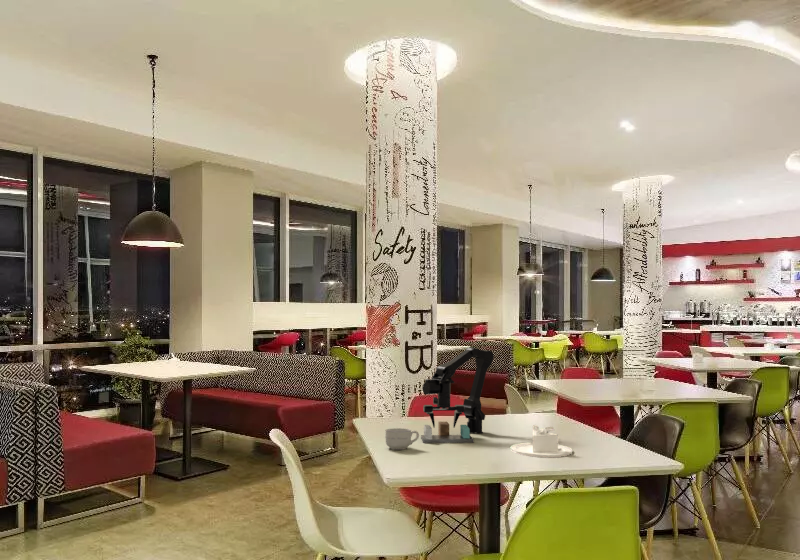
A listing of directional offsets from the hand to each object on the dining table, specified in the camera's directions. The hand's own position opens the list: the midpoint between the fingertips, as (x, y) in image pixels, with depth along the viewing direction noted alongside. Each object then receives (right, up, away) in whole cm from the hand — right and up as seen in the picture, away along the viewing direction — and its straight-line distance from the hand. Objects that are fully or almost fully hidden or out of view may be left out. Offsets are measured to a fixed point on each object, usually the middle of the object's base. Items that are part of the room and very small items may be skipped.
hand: (444, 427), depth 295 cm
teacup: (-19, -2, -29) cm, 35 cm away
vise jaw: (+9, -1, -11) cm, 14 cm away
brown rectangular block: (0, -4, 0) cm, 4 cm away
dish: (+38, -3, -31) cm, 49 cm away
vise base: (+1, -3, -11) cm, 12 cm away
